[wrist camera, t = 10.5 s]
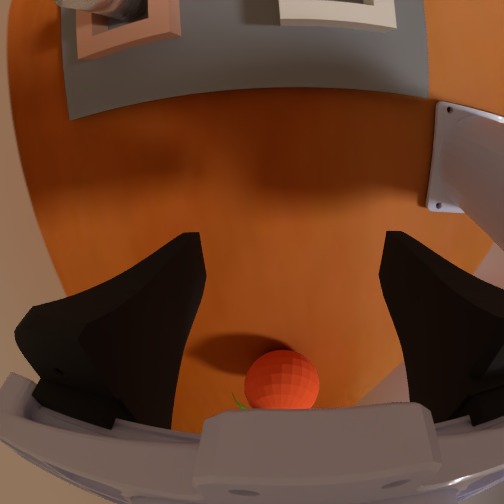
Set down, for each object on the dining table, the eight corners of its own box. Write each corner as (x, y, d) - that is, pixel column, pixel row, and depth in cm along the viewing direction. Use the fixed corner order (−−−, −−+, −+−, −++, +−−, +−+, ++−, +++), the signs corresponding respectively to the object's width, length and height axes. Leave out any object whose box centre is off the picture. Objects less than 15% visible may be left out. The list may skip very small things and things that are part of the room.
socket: (177, -43, 11) (166, -54, 9) (181, 36, 14) (169, 31, 12) (92, -15, 11) (76, -21, 10) (94, 59, 15) (77, 59, 13)
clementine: (240, 375, 31) (232, 432, 25) (233, 333, 27) (222, 397, 21) (314, 376, 30) (316, 433, 24) (320, 333, 27) (325, 399, 21)
